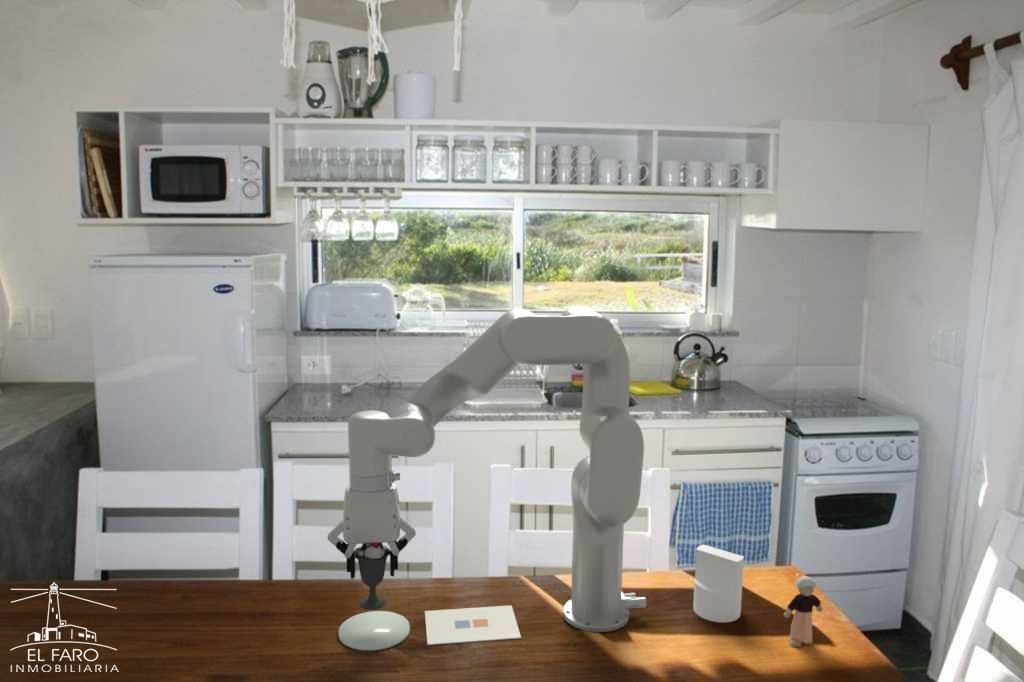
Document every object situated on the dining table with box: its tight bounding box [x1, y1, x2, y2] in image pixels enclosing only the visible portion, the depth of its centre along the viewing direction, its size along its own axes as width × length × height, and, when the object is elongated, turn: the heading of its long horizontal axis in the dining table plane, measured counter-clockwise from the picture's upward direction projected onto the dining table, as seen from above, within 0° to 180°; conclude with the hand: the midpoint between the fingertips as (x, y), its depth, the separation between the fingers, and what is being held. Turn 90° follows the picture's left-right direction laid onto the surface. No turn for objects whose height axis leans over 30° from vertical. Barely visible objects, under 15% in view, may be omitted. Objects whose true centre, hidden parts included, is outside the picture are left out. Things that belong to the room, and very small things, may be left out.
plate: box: [338, 610, 411, 652], centre depth 151 cm, size 13×13×1 cm
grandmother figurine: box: [783, 575, 823, 648], centre depth 147 cm, size 8×4×13 cm, turn 117°
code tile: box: [424, 605, 522, 646], centre depth 153 cm, size 17×12×1 cm
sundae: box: [354, 542, 391, 611], centre depth 148 cm, size 7×7×15 cm
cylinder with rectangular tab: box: [692, 544, 745, 623], centre depth 158 cm, size 9×9×12 cm
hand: (372, 573), depth 149 cm, fingers closed on sundae, 6 cm apart
